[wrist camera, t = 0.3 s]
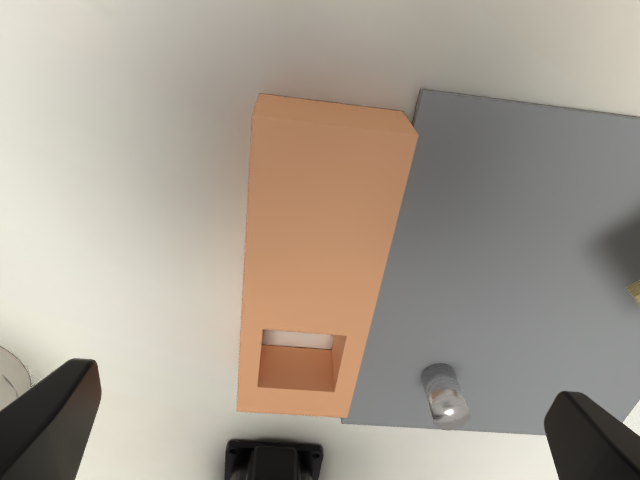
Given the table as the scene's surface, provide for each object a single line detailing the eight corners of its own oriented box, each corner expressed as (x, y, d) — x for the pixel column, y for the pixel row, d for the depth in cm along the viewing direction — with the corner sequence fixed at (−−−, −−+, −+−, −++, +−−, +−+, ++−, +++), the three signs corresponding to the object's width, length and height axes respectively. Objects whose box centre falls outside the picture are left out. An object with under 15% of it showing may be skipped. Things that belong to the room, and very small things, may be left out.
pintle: (449, 387, 28) (464, 431, 25) (417, 385, 27) (428, 429, 25) (458, 364, 27) (475, 407, 24) (425, 361, 26) (438, 405, 24)
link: (343, 375, 27) (347, 417, 25) (242, 368, 27) (236, 411, 24) (403, 111, 19) (418, 135, 16) (259, 93, 18) (252, 115, 16)
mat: (606, 433, 31) (610, 438, 31) (341, 418, 29) (341, 423, 29) (822, 141, 20) (831, 144, 20) (420, 88, 19) (422, 91, 18)
